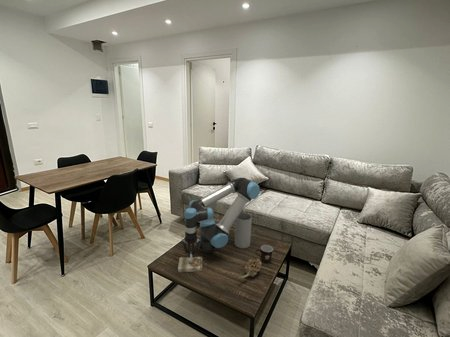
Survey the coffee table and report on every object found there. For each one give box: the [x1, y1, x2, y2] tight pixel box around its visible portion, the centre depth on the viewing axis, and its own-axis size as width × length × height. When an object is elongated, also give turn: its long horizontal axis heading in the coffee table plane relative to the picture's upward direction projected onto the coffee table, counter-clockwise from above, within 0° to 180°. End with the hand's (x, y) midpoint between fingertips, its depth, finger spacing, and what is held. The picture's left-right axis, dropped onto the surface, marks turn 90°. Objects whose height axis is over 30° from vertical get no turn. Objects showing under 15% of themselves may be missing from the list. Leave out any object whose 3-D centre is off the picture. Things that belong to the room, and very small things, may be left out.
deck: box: [177, 256, 203, 273], centre depth 168 cm, size 16×12×2 cm
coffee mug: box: [255, 244, 274, 264], centre depth 175 cm, size 12×9×10 cm
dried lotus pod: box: [238, 258, 262, 280], centre depth 158 cm, size 22×10×10 cm, turn 144°
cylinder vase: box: [234, 212, 253, 249], centre depth 191 cm, size 12×12×25 cm
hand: (191, 261), depth 167 cm, fingers closed
